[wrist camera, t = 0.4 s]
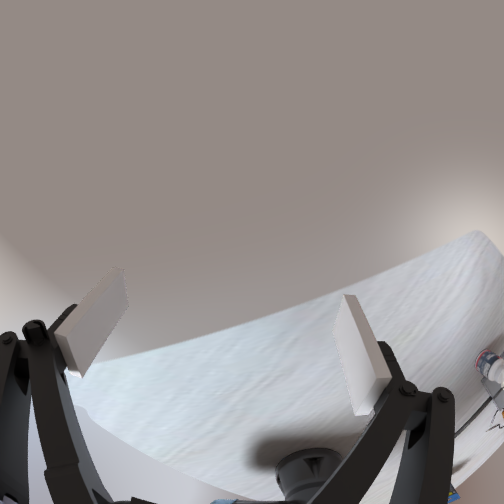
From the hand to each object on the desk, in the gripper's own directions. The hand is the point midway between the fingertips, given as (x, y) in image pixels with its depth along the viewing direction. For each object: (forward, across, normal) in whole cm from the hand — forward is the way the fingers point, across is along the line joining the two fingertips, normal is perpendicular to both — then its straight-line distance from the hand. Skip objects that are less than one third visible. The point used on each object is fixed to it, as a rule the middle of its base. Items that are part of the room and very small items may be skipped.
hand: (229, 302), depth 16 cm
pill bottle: (+19, -55, +25) cm, 63 cm away
